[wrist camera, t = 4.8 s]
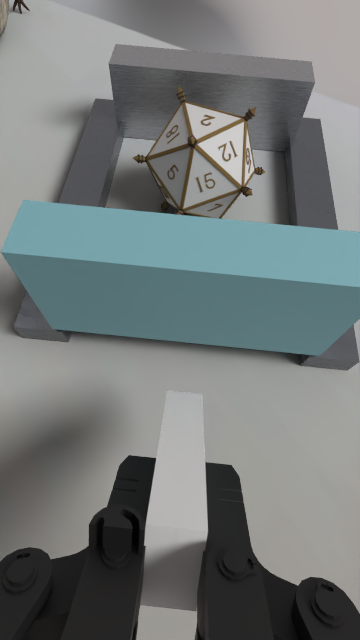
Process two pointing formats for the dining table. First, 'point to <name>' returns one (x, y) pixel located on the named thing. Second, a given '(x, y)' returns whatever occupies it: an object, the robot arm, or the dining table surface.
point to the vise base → (218, 93)
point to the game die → (202, 159)
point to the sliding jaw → (187, 276)
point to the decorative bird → (1, 12)
